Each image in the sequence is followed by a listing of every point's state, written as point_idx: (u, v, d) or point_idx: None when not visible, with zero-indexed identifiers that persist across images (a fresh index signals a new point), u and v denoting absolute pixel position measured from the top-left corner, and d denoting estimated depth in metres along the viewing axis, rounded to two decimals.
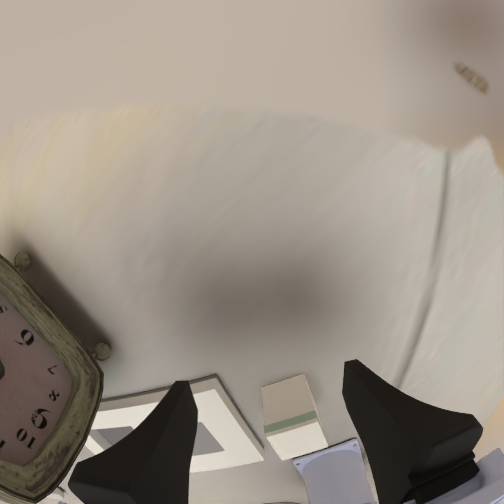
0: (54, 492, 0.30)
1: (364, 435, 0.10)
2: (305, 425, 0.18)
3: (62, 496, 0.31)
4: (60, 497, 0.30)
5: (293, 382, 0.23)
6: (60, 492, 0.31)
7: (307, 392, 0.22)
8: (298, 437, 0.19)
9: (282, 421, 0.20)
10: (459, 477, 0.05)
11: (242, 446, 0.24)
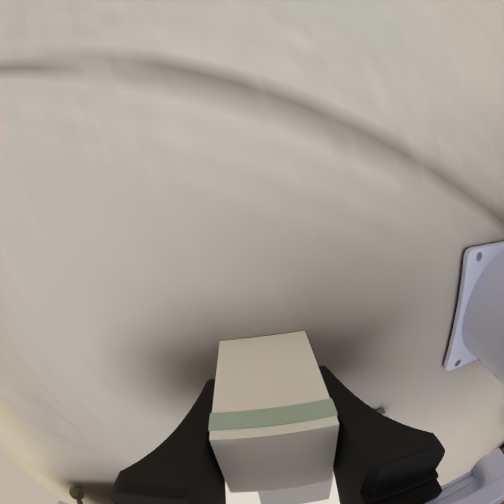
0: None
1: None
2: (215, 455, 0.08)
3: None
4: None
5: None
6: None
7: None
8: (256, 466, 0.08)
9: None
10: (418, 497, 0.05)
11: None
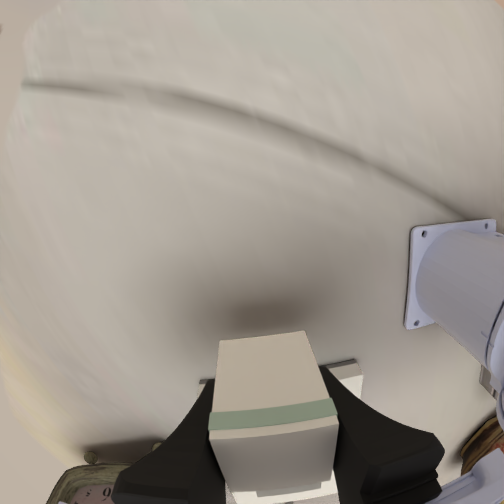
0: None
1: None
2: (215, 454, 0.08)
3: None
4: None
5: None
6: None
7: None
8: (256, 465, 0.08)
9: None
10: (418, 497, 0.05)
11: None
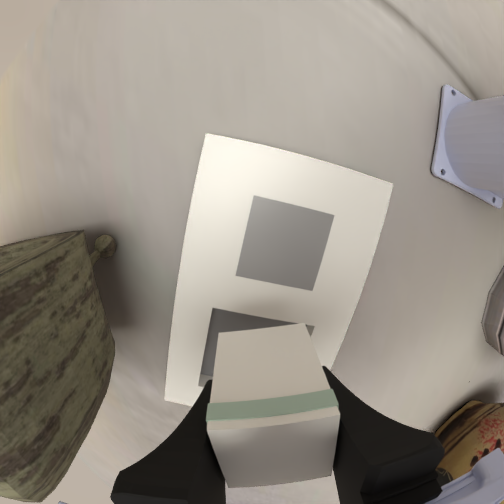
0: None
1: None
2: None
3: None
4: None
5: None
6: None
7: None
8: (255, 459, 0.08)
9: None
10: (418, 497, 0.05)
11: (341, 184, 0.17)
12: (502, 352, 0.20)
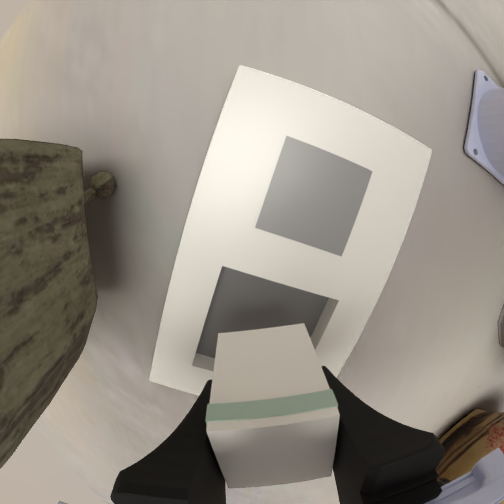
0: None
1: None
2: (212, 447, 0.08)
3: None
4: None
5: None
6: None
7: None
8: (255, 459, 0.08)
9: None
10: (418, 497, 0.05)
11: (381, 140, 0.14)
12: None
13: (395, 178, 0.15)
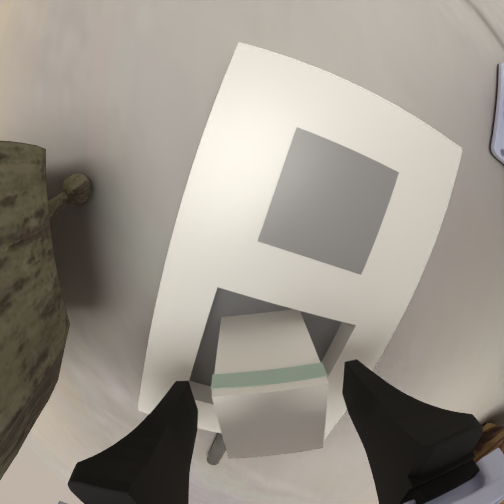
0: None
1: (364, 435, 0.10)
2: (216, 414, 0.09)
3: None
4: None
5: None
6: None
7: (218, 346, 0.12)
8: (254, 427, 0.10)
9: None
10: (459, 477, 0.05)
11: (408, 135, 0.11)
12: None
13: (423, 181, 0.12)
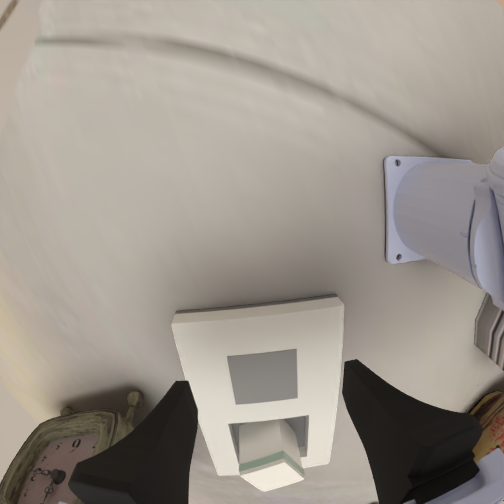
0: None
1: (364, 435, 0.10)
2: (245, 479, 0.19)
3: None
4: None
5: None
6: None
7: (240, 446, 0.22)
8: (264, 480, 0.19)
9: None
10: (459, 477, 0.05)
11: (295, 325, 0.20)
12: None
13: (317, 343, 0.20)
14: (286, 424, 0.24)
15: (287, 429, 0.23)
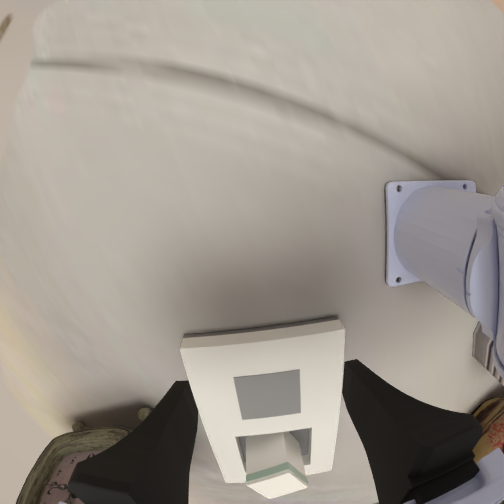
0: None
1: (364, 435, 0.10)
2: (252, 488, 0.19)
3: None
4: None
5: None
6: None
7: (246, 457, 0.22)
8: (270, 488, 0.19)
9: None
10: (459, 477, 0.05)
11: (298, 348, 0.20)
12: None
13: (319, 363, 0.21)
14: (290, 435, 0.24)
15: (291, 440, 0.24)
